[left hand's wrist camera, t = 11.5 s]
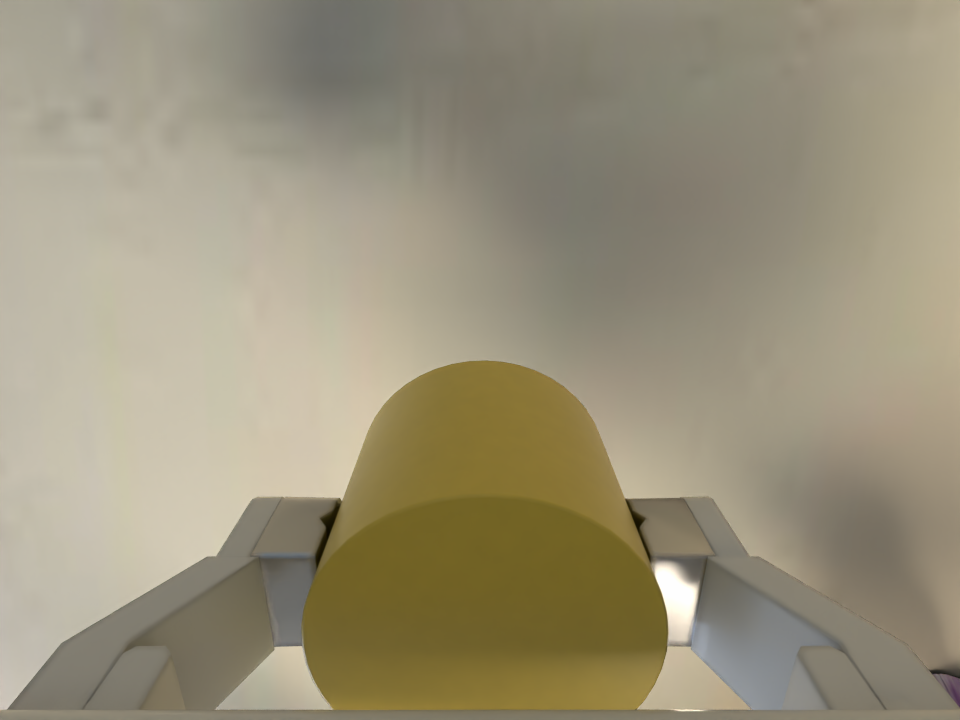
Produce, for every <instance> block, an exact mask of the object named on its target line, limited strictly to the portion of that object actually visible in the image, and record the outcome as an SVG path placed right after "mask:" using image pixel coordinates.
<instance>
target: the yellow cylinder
mask: <svg viewBox="0 0 960 720" xmlns="http://www.w3.org/2000/svg"><path fill="white" fill-rule="evenodd" d="M301 633H302V647H303V652H304V657H305V661H306V665H307V667H308V670H309V673H310V675H311V678H312V680H313V682H314V684H315V685H316V687H317V689H318V690H319V692H320V694H321V696H322V697H323V698H324V700H325V701H326V702H327V703H328V705H329V706H330V707H331V708H332V710H636V709H637V708H638V707H639V706H640V705H641V704H642V703H643V701H644V700H645V699H646V697H647V696H648V694H649V692H650V691H651V689H652V688H653V686H654V685H655V682H656V680H657V678H658V676H659V674H660V672H661V669H662V666H663V663H664V659H665V655H666V652H667V643H668V633H669V628H668V615H667V610H666V606H665V602H664V598H663V594H662V592H661V589H660V587H659V584H658V582H657V579H656V576H655V574H654V571H653V569H652V566H651V564H650V561H649V559H648V556H647V554H646V551H645V549H644V546H643V543H642V541H641V538H640V536H639V533H638V531H637V528H636V526H635V523H634V521H633V518H632V515H631V513H630V510H629V508H628V505H627V503H626V500H625V498H624V495H623V493H622V490H621V488H620V485H619V482H618V480H617V477H616V475H615V472H614V470H613V467H612V465H611V462H610V460H609V457H608V455H607V452H606V449H605V447H604V444H603V442H602V439H601V437H600V434H599V432H598V430H597V427H596V425H595V423H594V421H593V419H592V418H591V416H590V415H589V413H588V411H587V410H586V408H585V407H584V406H583V405H582V404H581V403H580V401H579V400H578V399H577V398H576V397H575V396H574V395H573V394H572V393H570V392H569V391H568V390H567V389H566V388H565V387H563V386H562V385H560V384H559V383H557V382H556V381H554V380H553V379H551V378H550V377H548V376H545V375H543V374H541V373H539V372H537V371H535V370H532V369H529V368H526V367H523V366H520V365H515V364H511V363H506V362H497V361H468V362H462V363H456V364H451V365H447V366H444V367H441V368H437V369H434V370H432V371H430V372H428V373H425V374H423V375H421V376H419V377H417V378H416V379H414V380H412V381H411V382H409V383H407V384H406V385H405V386H403V387H402V388H401V389H400V390H398V391H397V392H396V393H395V394H394V395H393V396H392V397H391V398H390V399H389V400H388V401H387V402H386V403H385V404H384V405H383V407H382V408H381V410H380V411H379V412H378V414H377V415H376V417H375V418H374V420H373V422H372V424H371V426H370V428H369V430H368V433H367V435H366V438H365V441H364V444H363V446H362V449H361V452H360V454H359V457H358V460H357V463H356V465H355V468H354V471H353V473H352V476H351V479H350V481H349V484H348V487H347V490H346V492H345V495H344V498H343V500H342V503H341V506H340V509H339V511H338V514H337V517H336V519H335V522H334V525H333V527H332V530H331V533H330V536H329V538H328V541H327V544H326V546H325V549H324V552H323V555H322V557H321V560H320V563H319V565H318V568H317V571H316V573H315V576H314V579H313V582H312V584H311V587H310V590H309V593H308V596H307V599H306V602H305V605H304V610H303V617H302V624H301Z"/></svg>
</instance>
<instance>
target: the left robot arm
mask: <svg viewBox="0 0 960 720" xmlns="http://www.w3.org/2000/svg"><path fill="white" fill-rule="evenodd" d="M625 500H626V503H627V505H628V508H629V510H630V513H631V515H632V518H633V521H634V523H635V526H636V528H637V531H638V533H639V536H640V538H641V541H642V543H643V546H644V549H645V551H646V554H647V556H648V559H649V561H650V564H651V566H652V569H653V571H654V574H655V576H656V579H657V582H658V584H659V587H660V589H661V592H662V594H663V598H664V602H665V606H666V610H667V615H668V628H669V633H668V643H667V646H686V647H691V650H692V651H693V652H694V653H695V654H696V655H697V656H698V657H700V658H701V659H702V660H703V661H704V662H705V663H706V664H707V665H708V666H709V667H710V668H711V669H712V670H713V671H714V672H715V673H716V674H717V675H718V676H719V677H720V678H721V679H722V680H723V681H724V682H725V683H726V684H727V685H728V686H729V687H730V688H731V689H732V690H733V691H734V692H735V693H736V694H737V695H738V696H739V697H740V698H741V699H742V700H743V701H744V702H745V703H746V704H747V705H748V706H749V707H750V708H751V709H752V710H214V709H215V708H216V707H217V706H218V705H219V704H220V703H221V702H222V701H223V700H224V699H225V698H226V697H227V696H228V695H229V694H230V693H231V692H232V691H233V690H234V689H235V688H236V687H237V686H238V685H239V684H240V683H241V682H242V681H243V680H244V679H245V678H246V677H247V676H248V675H249V674H250V673H251V672H252V671H253V670H254V669H255V668H256V667H257V666H258V665H259V664H261V663H262V662H263V661H264V660H265V659H266V658H267V657H268V656H269V655H270V654H271V653H272V652H273V651H274V647H279V646H302V633H301V624H302V617H303V610H304V605H305V602H306V599H307V596H308V593H309V590H310V587H311V584H312V582H313V579H314V576H315V573H316V571H317V568H318V565H319V563H320V560H321V557H322V555H323V552H324V549H325V546H326V544H327V541H328V538H329V536H330V533H331V530H332V527H333V525H334V522H335V519H336V517H337V514H338V511H339V509H340V506H341V503H342V501H341V499H340V498H313V497H285V498H284V497H256V498H254V499H252V500H251V501H250V503H249V505H248V506H247V508H246V509H245V511H244V513H243V514H242V516H241V517H240V519H239V521H238V522H237V524H236V525H235V527H234V529H233V530H232V532H231V533H230V535H229V537H228V538H227V540H226V541H225V543H224V545H223V546H222V548H221V549H220V551H219V553H218V554H217V556H216V557H206V558H204V559H202V560H201V561H199V562H197V563H196V564H194V565H192V566H191V567H189V568H187V569H186V570H184V571H182V572H181V573H179V574H177V575H176V576H174V577H172V578H170V579H169V580H167V581H165V582H164V583H162V584H160V585H159V586H157V587H155V588H154V589H152V590H150V591H149V592H147V593H145V594H144V595H142V596H140V597H139V598H137V599H135V600H133V601H132V602H130V603H128V604H127V605H125V606H123V607H122V608H120V609H118V610H117V611H115V612H113V613H112V614H110V615H108V616H107V617H105V618H103V619H101V620H100V621H98V622H96V623H95V624H93V625H91V626H90V627H88V628H86V629H85V630H83V631H81V632H80V633H78V634H76V635H75V636H73V637H71V638H69V639H68V640H66V641H64V642H63V643H61V645H60V646H59V647H58V648H57V649H56V651H55V652H54V653H53V654H52V655H51V657H50V658H49V659H48V660H47V662H46V663H45V664H44V665H43V666H42V668H41V669H40V670H39V671H38V673H37V674H36V675H35V676H34V677H33V679H32V680H31V681H30V682H29V683H28V685H27V686H26V687H25V688H24V690H23V691H22V692H21V693H20V694H19V696H18V697H17V698H16V699H15V700H14V702H13V703H12V704H11V705H10V707H9V708H8V709H7V710H0V720H960V707H959V706H958V705H957V704H956V702H955V701H954V700H953V699H952V698H951V696H950V695H949V694H948V693H947V692H946V690H945V689H944V688H943V687H942V686H941V684H940V683H939V682H938V681H937V680H936V678H935V677H934V676H933V675H932V674H931V672H930V671H929V670H928V669H927V668H926V666H925V665H924V664H923V663H922V662H921V660H920V659H919V658H918V657H917V656H916V654H915V653H914V652H913V651H912V650H911V648H910V647H909V646H908V645H907V644H906V643H904V642H903V641H901V640H899V639H897V638H896V637H894V636H892V635H891V634H889V633H887V632H886V631H884V630H882V629H880V628H879V627H877V626H875V625H874V624H872V623H870V622H869V621H867V620H865V619H864V618H862V617H860V616H858V615H857V614H855V613H853V612H852V611H850V610H848V609H847V608H845V607H843V606H842V605H840V604H838V603H836V602H835V601H833V600H831V599H830V598H828V597H826V596H825V595H823V594H821V593H820V592H818V591H816V590H814V589H813V588H811V587H809V586H808V585H806V584H804V583H803V582H801V581H799V580H798V579H796V578H794V577H792V576H791V575H789V574H787V573H786V572H784V571H782V570H781V569H779V568H777V567H775V566H774V565H772V564H770V563H769V562H767V561H765V560H764V559H762V558H760V557H750V556H749V554H748V553H747V551H746V550H745V548H744V547H743V545H742V543H741V542H740V540H739V539H738V537H737V536H736V534H735V533H734V531H733V530H732V528H731V526H730V525H729V523H728V522H727V520H726V519H725V517H724V516H723V514H722V513H721V511H720V509H719V508H718V506H717V505H716V503H715V502H714V500H713V499H712V498H710V497H708V496H706V497H680V498H643V499H625Z"/></svg>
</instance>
